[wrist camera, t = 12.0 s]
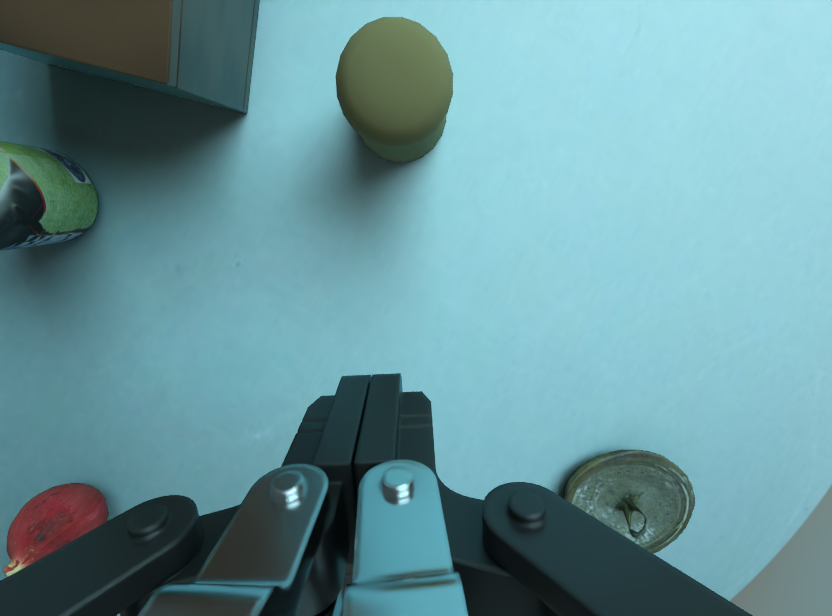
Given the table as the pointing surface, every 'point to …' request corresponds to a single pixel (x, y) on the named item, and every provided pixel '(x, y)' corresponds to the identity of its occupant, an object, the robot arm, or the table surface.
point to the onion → (53, 522)
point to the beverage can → (42, 197)
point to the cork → (395, 87)
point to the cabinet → (143, 43)
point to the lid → (634, 496)
